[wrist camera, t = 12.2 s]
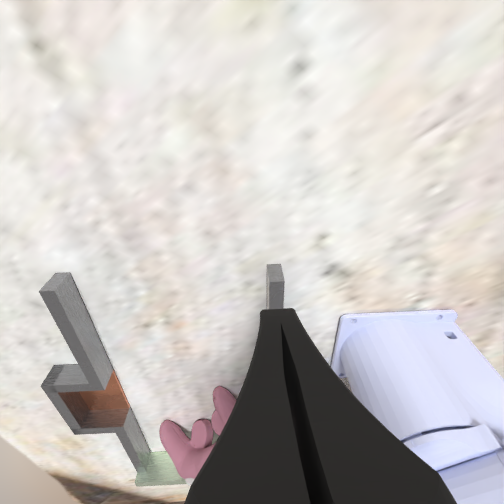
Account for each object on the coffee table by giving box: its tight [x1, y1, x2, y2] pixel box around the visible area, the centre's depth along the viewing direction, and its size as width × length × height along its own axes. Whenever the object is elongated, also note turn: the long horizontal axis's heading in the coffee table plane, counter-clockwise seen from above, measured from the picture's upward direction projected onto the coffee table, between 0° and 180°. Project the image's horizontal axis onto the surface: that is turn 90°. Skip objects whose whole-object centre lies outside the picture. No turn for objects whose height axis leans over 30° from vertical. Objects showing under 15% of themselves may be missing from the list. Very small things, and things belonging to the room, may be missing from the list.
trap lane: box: [39, 264, 284, 486], centre depth 27 cm, size 24×28×3 cm
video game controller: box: [160, 386, 237, 485], centre depth 29 cm, size 10×5×7 cm, turn 134°
